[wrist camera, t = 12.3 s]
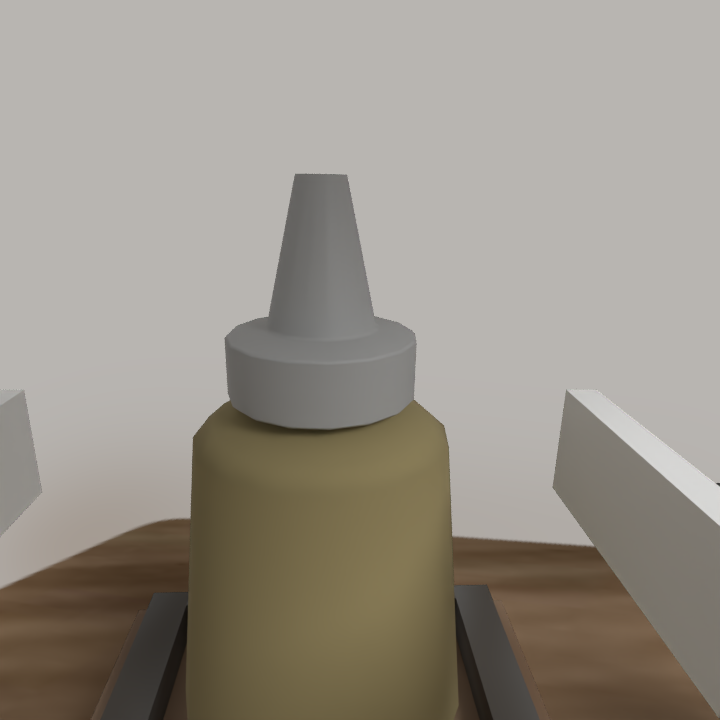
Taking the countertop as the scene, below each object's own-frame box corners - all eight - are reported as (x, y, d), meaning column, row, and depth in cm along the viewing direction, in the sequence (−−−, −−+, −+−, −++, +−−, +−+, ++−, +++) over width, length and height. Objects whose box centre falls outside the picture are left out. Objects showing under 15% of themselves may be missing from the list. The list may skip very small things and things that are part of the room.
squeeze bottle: (493, 740, 19) (560, 178, 13) (344, 1012, 13) (356, 168, 7) (313, 628, 23) (307, 176, 18) (138, 787, 17) (48, 169, 12)
